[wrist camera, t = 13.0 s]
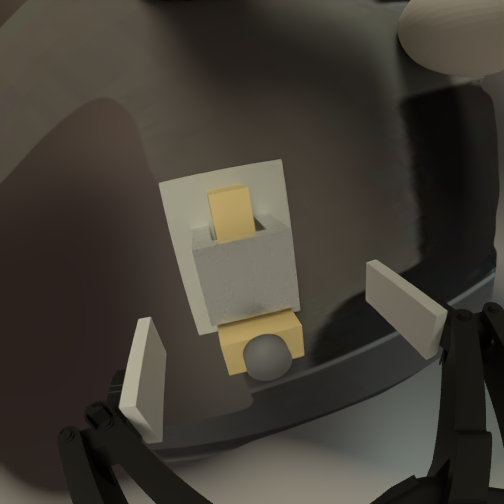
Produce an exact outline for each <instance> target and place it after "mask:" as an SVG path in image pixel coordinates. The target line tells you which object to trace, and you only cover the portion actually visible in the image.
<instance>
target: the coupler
mask: <svg viewBox="0 0 504 504" xmlns="http://www.w3.org/2000/svg"><path fill="white" fill-rule="evenodd" d="M206 192H207V197H208V202H209V207H210V212H211V217H212V222H213V227H214V231H215V236H216V240H219V239H223V238H228V237H233V236H238V235H242V234H247V233H252V232H256V231H255V225H254V220H253V214H252V208H251V202H250V196H249V190H248V187H247V186H245V185H243V184H237V185H232V186H227V187H222V188H217V189H213V190H208V191H206ZM217 327H218V332H219V339H220V344H221V348H222V352H223V355H224V359H225V362H226V365H227V368H228V372H229V375H233V374H237V373H242V372H246V371H247V372H248V374H249V375H250V376H251V377H252V378H254V379H256V380H259V381H270V380H274V379H277V378H279V377H281V376H282V375H284V374H285V373H286V372H287V371H288V370H289V368H290V367H291V364H292V359H294V358H298V357H301V356H304V345H303V333H302V325H301V323H300V322H299V320H298V319H297V317H296V316H295V314H294V313H293V311H292V309H291V308H286V309H283V310H279V311H275V312H271V313H267V314H263V315H259V316H255V317H251V318H246V319H242V320H238V321H234V322H229V323H225V324H220V325H217Z"/></svg>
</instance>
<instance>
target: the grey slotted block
mask: <svg viewBox="0 0 504 504" xmlns="http://www.w3.org/2000/svg"><path fill="white" fill-rule="evenodd" d="M253 219H254V225H255V231H256V232H252V233H247V234H242V235H238V236H233V237H228V238H223V239H219V240H214V241H212V238H211V234H210V230H209V225H207V226H202V227H198V228H193V229H192V253H193V257H194V261H195V265H196V269H197V273H198V277H199V281H200V285H201V289H202V293H203V296H204V300H205V304H206V308H207V311H208V315H209V319H210V322H211V326H216V325H220V324H225V323H229V322H234V321H238V320H242V319H246V318H251V317H255V316H259V315H263V314H267V313H271V312H275V311H279V310H283V309H286V308H290V307H294V306H298V305H299V297H298V287H297V277H296V268H295V259H294V250H293V241H292V233H291V229H290V228H289V227H287V226H286V225H285V224H283V223H282V222H281V221H279V220H278V219H277V218H275V217H274V216H273V215H271V214H270V213H265V214H260V215H255V216H253Z"/></svg>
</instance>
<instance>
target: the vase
mask: <svg viewBox="0 0 504 504" xmlns="http://www.w3.org/2000/svg"><path fill="white" fill-rule="evenodd" d="M397 30H398V37H399V40H400V43H401V45H402V47H403V48H404V50H405V52H406V53H407V54H408V55H409V57H410V58H411V59H412V60H414V61H415V62H416V63H418V64H420V65H421V66H423V67H425V68H427V69H430V70H432V71H436V72H439V73H442V74H447V75H452V76H459V77H478V76H484V75H489V74H492V73H496V72H499V71H501V70H504V0H411V1H410V2H409V3H408V4H407V6H406V7H405V9H404V10H403V12H402V14H401V16H400V19H399V22H398V29H397Z"/></svg>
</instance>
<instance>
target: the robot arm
mask: <svg viewBox="0 0 504 504" xmlns="http://www.w3.org/2000/svg"><path fill="white" fill-rule="evenodd" d="M164 1H189V0H164ZM366 301H367V302H368V303H369V304H370V305H371V306H373V307H374V308H375V309H376V310H377V311H378V312H379V313H380V314H381V315H382V316H383V317H384V318H385V319H386V320H387V321H388V322H389V323H390V324H391V325H392V326H393V327H394V328H395V329H396V330H397V331H398V332H399V333H400V334H401V335H402V336H403V337H404V338H405V339H406V340H407V341H408V342H409V343H410V344H411V345H412V346H413V347H414V348H415V349H416V350H417V351H418V352H419V353H420V354H421V355H422V356H423V357H424V358H425V359H426V360H427V359H429V358H431V357H433V356H434V355H436V354H437V352H438V348H439V345H440V346H441V347H442V348H443V352H442V355H441V359H440V362H439V365H440V364H441V362H442V381H441V382H442V383H441V399H440V410H439V420H438V429H437V437H436V443H435V449H434V455H433V460H432V464H431V467H430V469H429V472H428V474H427V476H426V477H421V478H417V479H416V477H415V476H414V475H413V476H411V477H409V478H407V479H406V480H404V481H402V482H400V483H398V484H396V485H394V486H393V487H391V488H390V489H388V490H387V491H386V492H385V493H383V494H382V495H381V496H380V497H378V498H377V499H376V500H375V501H373V502H372V503H370V504H504V489H500V488H493V487H489V479H490V468H491V455H492V434H491V432H487V431H486V405H485V404H486V403H485V386H484V380H485V383H486V386H487V389H488V392H489V395H490V398H491V401H492V404H493V408H494V411H495V414H496V418H497V422H498V425H499V429H500V433H501V437H502V442H503V446H504V310H503V308H502V307H501V306H500V305H498V304H497V303H493V302H488V303H486V304H484V306H483V310H482V312H479V313H475V314H473V313H472V312H471V311H469V310H466V309H458V310H455V309H454V308H452V307H451V306H449V305H448V304H447V303H445V302H444V301H443V300H441V299H440V298H439V297H437V296H435V295H434V294H433V293H432V292H430V291H429V290H426V289H423V288H419V289H417V288H416V287H415V286H413V285H412V284H411V283H409V282H408V281H406V280H405V279H404V278H402V277H401V276H399V275H398V274H397V273H395V272H394V271H392V270H391V269H389V268H388V267H386V266H385V265H384V264H382V263H381V262H379V261H378V260H372V261H369V262H366ZM493 341H494V342H493ZM165 365H166V351H165V349H164V347H163V344H162V342H161V340H160V337H159V335H158V333H157V330H156V328H155V326H154V324H153V321H152V318H151V317H147V318H142V319H139V320H138V324H137V328H136V331H135V335H134V339H133V343H132V348H131V352H130V356H129V360H128V365H127V369H125V370H118V371H117V372H116V373H115V375H114V376H113V378H112V381H111V387H110V389H109V393H108V398H107V402H105V401H101V400H100V401H95V402H93V403H91V404H90V405H89V406H87V408H86V409H85V411H84V418H85V421H86V422H87V423H88V424H89V425H90V426H91V428H88V429H85V430H82V431H79V429H78V428H76V427H75V426H66V427H64V428H63V429H61V430H60V432H59V433H58V435H57V444H58V449H59V454H60V458H61V462H62V467H63V471H64V475H65V478H66V482H67V486H68V489H69V492H70V496H71V499H72V502H73V504H128V502H127V500H126V498H125V496H124V494H123V492H122V490H121V487H120V485H119V483H118V481H117V479H116V476H115V474H114V472H113V469H112V467H111V466H112V465H115V464H120V465H121V466H122V467H123V468H124V470H125V471H126V472H127V473H128V474H129V475H130V476H131V478H132V479H133V480H134V481H135V482H136V483H137V484H138V485H139V486H140V487H141V489H143V491H144V492H145V493H146V494H147V495H148V496H149V497H150V498H151V499H152V500H153V501H154V502H155V503H156V504H213V503H211V502H210V501H209V500H207V499H206V498H205V497H203V496H202V495H201V494H199V493H198V492H197V491H195V490H194V489H193V488H192V487H190V486H189V485H188V484H187V483H185V482H184V481H183V480H182V479H181V478H180V477H178V476H177V475H176V474H175V473H174V472H173V471H172V470H170V469H169V468H168V467H167V466H166V465H165V464H163V462H162V461H161V460H159V459H158V458H157V457H156V456H155V455H154V454H153V453H152V452H151V451H150V450H149V449H148V448H147V447H146V446H145V445H144V444H143V443H142V442H141V441H142V438H143V439H144V440H145V441H146V443H157V442H162V431H163V400H164V381H165Z"/></svg>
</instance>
